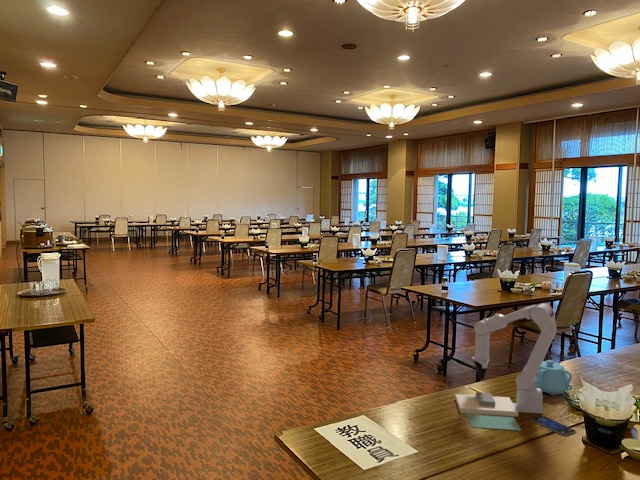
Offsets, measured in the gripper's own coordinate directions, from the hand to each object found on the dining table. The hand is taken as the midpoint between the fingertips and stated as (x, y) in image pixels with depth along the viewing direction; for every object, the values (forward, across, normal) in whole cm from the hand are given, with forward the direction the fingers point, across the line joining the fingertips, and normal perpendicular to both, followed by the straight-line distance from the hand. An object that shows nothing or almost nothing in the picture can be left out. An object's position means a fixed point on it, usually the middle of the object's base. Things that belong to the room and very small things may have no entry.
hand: (480, 378), depth 208 cm
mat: (+8, +24, 0) cm, 26 cm away
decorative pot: (+8, -12, +32) cm, 35 cm away
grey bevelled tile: (+6, +10, 0) cm, 12 cm away
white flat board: (+8, +11, 0) cm, 13 cm away
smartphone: (+8, +24, +22) cm, 34 cm away
